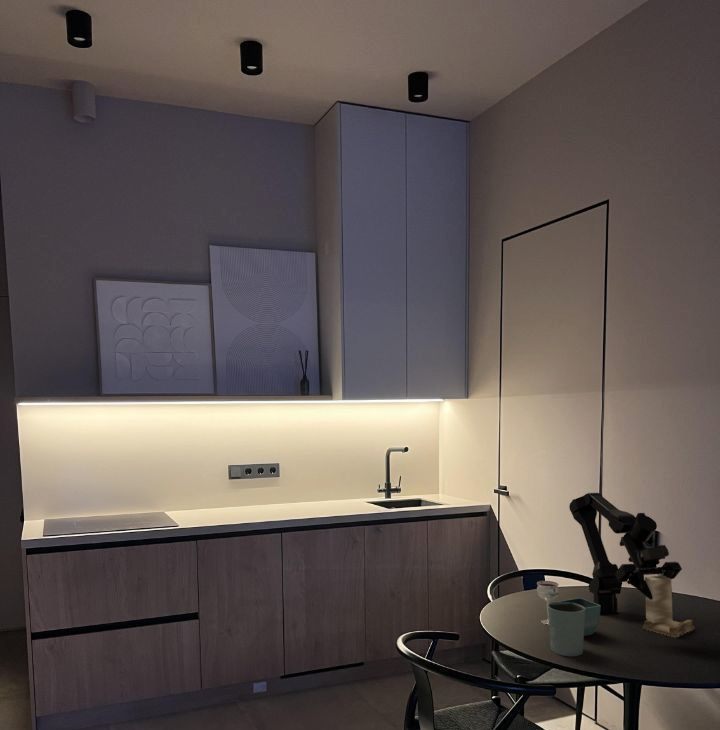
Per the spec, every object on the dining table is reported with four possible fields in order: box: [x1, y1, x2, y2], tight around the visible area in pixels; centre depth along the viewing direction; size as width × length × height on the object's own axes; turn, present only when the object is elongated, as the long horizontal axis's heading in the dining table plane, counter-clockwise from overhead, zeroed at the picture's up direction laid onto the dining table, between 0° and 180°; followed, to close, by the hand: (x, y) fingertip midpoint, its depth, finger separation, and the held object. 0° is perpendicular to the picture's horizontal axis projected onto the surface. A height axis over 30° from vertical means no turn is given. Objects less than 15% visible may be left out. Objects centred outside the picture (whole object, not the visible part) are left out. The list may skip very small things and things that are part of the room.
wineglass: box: [536, 580, 560, 626], centre depth 208 cm, size 7×7×12 cm
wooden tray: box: [642, 619, 696, 639], centre depth 201 cm, size 12×10×2 cm
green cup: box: [546, 601, 586, 657], centre depth 185 cm, size 10×10×12 cm
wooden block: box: [644, 575, 674, 623], centre depth 191 cm, size 6×4×12 cm, turn 101°
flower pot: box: [558, 597, 601, 637], centre depth 198 cm, size 9×9×9 cm
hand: (661, 598), depth 189 cm, fingers closed on wooden block, 6 cm apart
